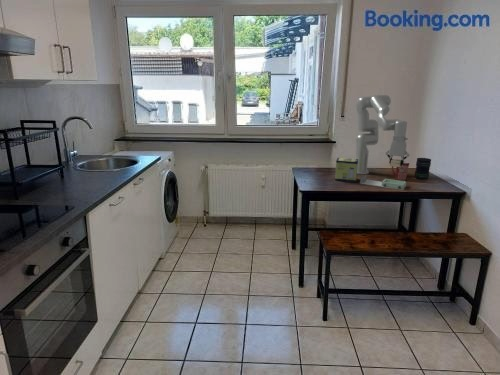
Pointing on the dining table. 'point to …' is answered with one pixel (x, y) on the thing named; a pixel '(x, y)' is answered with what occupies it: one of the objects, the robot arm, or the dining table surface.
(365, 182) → the track
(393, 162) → the beige square block
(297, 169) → the dining table surface
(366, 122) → the robot arm
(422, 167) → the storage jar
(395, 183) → the cart
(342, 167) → the protein box
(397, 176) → the mug
